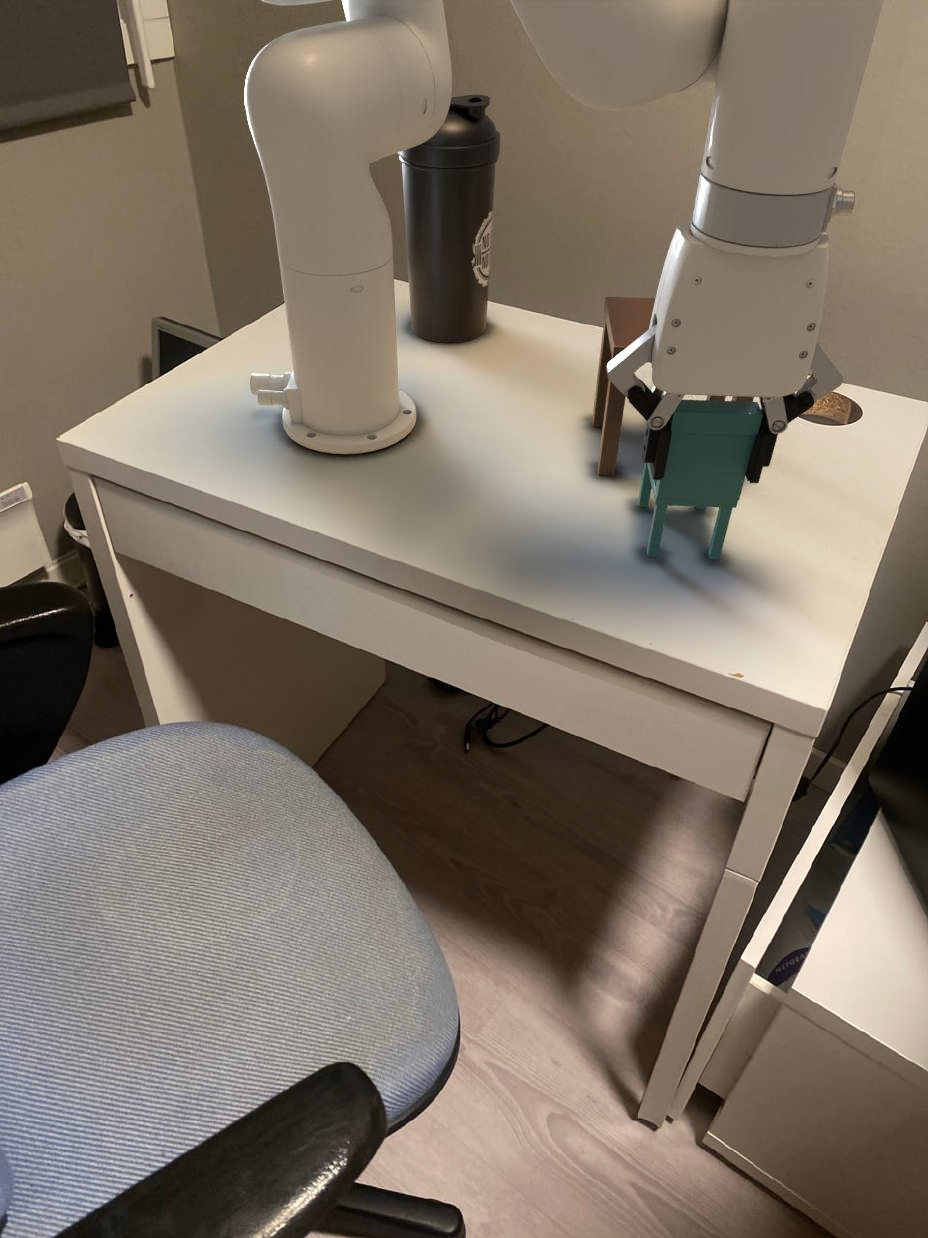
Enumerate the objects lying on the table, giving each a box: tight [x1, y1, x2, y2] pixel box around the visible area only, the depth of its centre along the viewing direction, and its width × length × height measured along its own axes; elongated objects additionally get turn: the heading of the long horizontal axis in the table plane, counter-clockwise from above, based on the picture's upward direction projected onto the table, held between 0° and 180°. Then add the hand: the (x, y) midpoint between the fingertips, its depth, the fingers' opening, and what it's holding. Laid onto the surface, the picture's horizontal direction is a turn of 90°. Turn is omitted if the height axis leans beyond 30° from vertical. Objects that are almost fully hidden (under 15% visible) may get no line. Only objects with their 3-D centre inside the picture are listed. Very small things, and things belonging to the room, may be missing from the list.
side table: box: [592, 296, 755, 477], centre depth 78 cm, size 12×10×12 cm
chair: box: [637, 399, 763, 561], centre depth 68 cm, size 8×6×13 cm
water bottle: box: [397, 94, 501, 344], centre depth 94 cm, size 10×10×23 cm
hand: (702, 469), depth 65 cm, fingers closed on chair, 6 cm apart
